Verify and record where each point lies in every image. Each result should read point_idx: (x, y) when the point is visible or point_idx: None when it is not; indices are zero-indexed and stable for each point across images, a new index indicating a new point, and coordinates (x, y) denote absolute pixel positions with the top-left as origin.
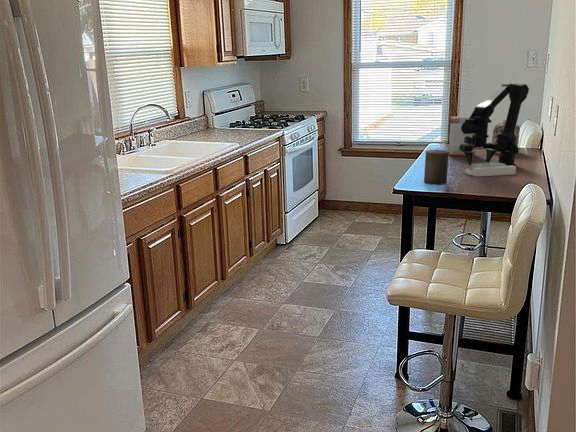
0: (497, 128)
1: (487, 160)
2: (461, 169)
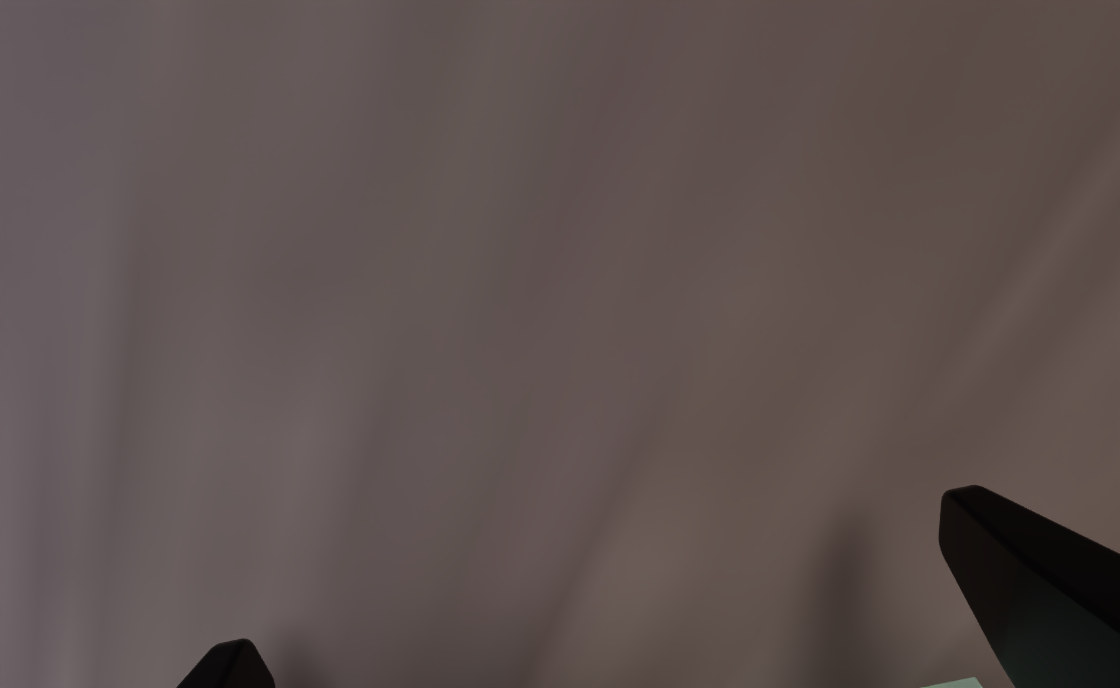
0: None
1: (1042, 670)
2: (15, 553)
